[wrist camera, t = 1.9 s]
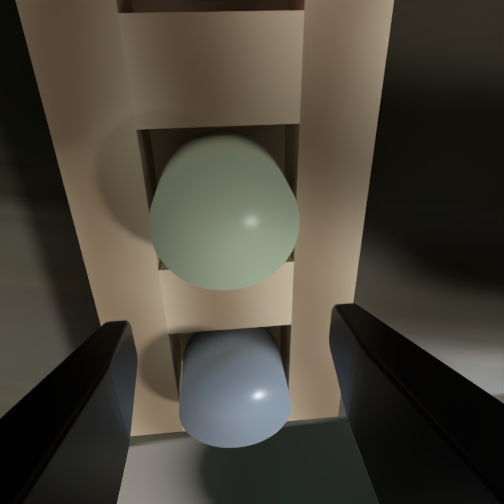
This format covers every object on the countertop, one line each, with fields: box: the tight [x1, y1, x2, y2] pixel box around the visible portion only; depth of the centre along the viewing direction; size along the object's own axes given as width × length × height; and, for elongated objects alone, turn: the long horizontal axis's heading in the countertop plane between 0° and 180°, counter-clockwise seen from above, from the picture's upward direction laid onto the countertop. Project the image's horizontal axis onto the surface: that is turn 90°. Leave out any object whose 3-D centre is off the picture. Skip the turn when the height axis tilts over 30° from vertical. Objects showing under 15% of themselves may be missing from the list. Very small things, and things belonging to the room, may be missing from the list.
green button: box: [149, 130, 300, 290], centre depth 13 cm, size 4×4×3 cm
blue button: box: [179, 327, 291, 448], centre depth 17 cm, size 4×4×3 cm
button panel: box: [15, 0, 394, 436], centre depth 15 cm, size 10×23×4 cm, turn 1°
